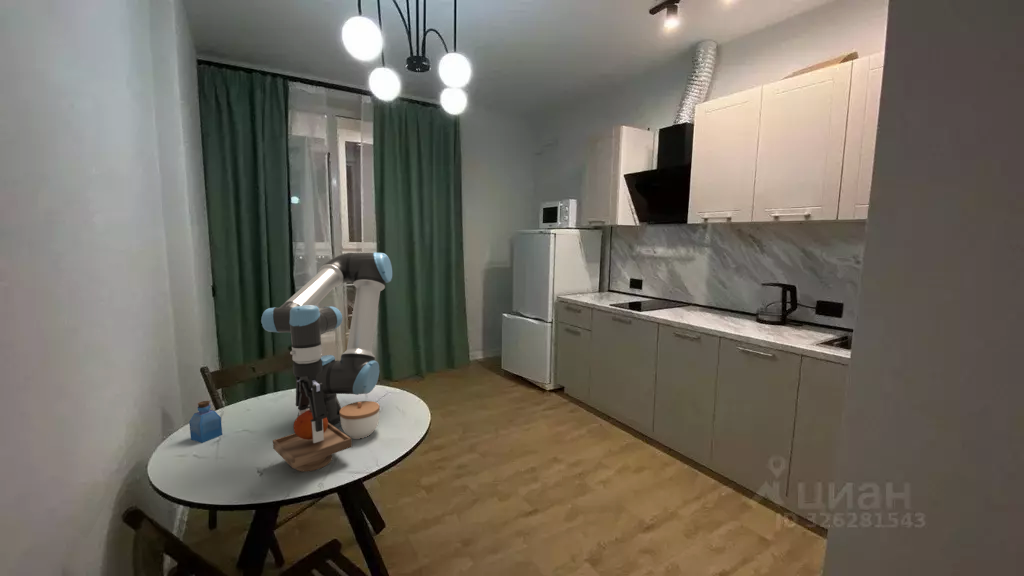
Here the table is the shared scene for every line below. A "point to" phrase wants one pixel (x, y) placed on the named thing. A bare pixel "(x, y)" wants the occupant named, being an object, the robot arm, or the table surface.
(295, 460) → the tray
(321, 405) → the robot arm
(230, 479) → the table surface
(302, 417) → the fruit
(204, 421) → the perfume bottle
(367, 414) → the lidded bowl
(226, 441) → the table surface
